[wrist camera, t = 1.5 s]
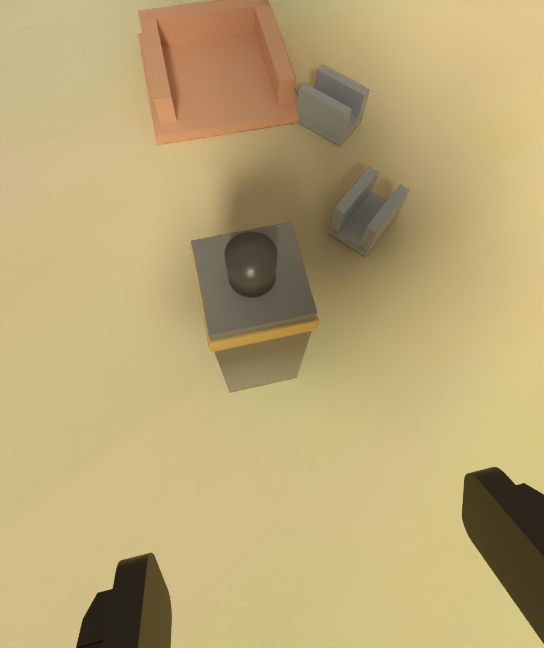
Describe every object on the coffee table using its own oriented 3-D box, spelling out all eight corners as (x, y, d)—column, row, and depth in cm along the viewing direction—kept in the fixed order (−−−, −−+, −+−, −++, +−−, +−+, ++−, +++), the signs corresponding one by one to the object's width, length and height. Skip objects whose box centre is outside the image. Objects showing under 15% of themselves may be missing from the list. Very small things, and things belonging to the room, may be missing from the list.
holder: (302, 121, 31) (306, 88, 29) (158, 144, 30) (148, 112, 28) (270, 25, 35) (270, -11, 33) (140, 43, 34) (130, 7, 32)
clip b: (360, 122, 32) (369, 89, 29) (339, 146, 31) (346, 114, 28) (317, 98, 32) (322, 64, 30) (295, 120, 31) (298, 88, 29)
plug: (228, 394, 24) (199, 322, 13) (215, 328, 25) (180, 214, 15) (298, 379, 24) (326, 296, 14) (281, 314, 26) (295, 193, 15)
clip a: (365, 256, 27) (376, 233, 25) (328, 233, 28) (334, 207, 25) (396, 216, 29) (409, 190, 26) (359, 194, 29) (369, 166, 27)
